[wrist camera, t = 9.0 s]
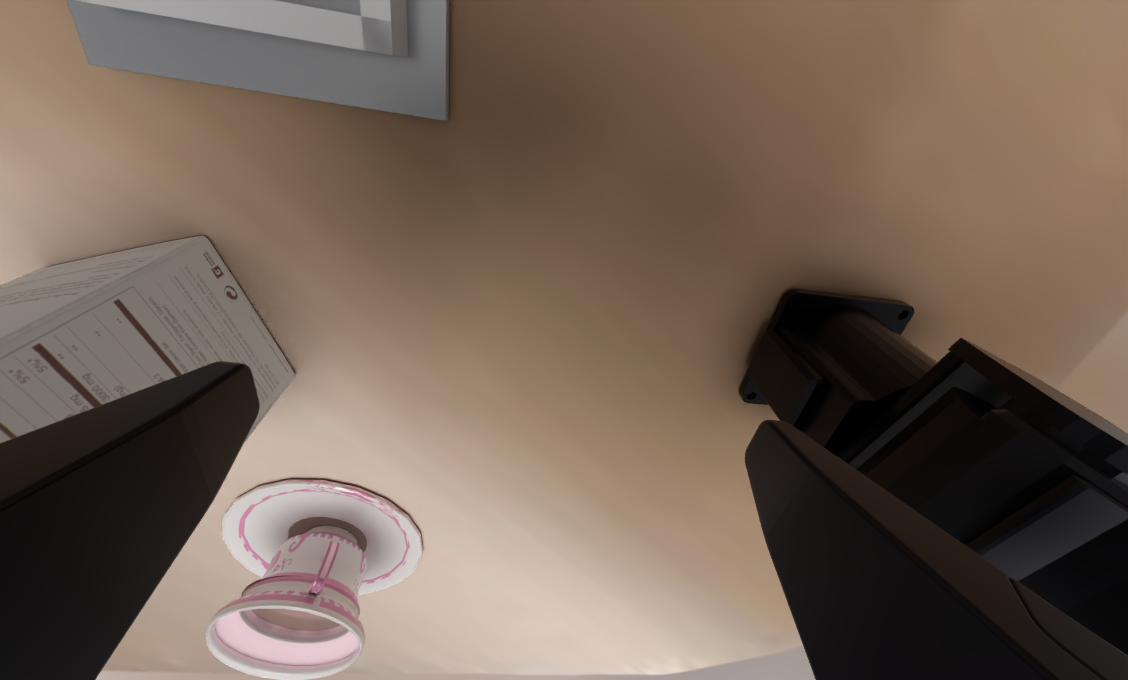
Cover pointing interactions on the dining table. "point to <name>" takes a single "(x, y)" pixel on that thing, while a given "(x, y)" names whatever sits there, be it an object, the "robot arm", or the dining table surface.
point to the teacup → (307, 577)
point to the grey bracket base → (282, 47)
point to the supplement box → (125, 331)
